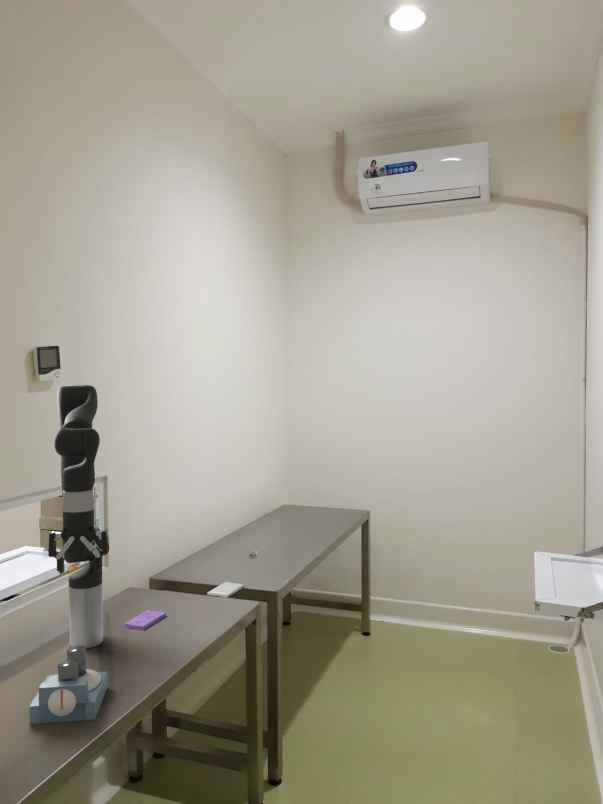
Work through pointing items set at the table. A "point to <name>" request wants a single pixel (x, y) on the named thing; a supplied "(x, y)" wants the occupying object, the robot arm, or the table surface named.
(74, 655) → the cylinder
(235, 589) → the external hard drive
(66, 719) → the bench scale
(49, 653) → the table surface
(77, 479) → the robot arm
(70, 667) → the cylinder
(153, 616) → the sponges
